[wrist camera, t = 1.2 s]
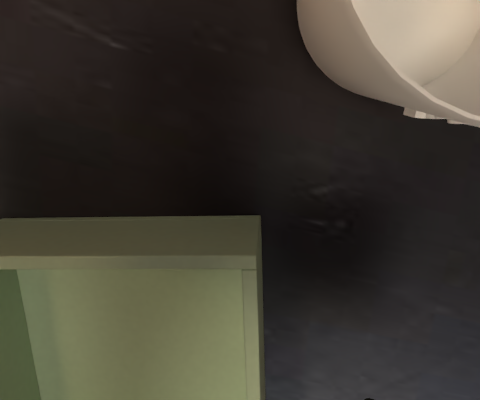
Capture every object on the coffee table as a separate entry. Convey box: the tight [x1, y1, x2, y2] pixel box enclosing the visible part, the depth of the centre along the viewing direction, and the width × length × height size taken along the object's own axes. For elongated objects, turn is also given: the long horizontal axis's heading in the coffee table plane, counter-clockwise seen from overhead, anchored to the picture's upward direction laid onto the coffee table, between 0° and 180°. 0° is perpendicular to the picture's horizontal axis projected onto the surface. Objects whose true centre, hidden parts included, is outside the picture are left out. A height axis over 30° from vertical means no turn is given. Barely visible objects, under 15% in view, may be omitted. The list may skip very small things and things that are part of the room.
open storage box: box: [0, 215, 265, 400], centre depth 22 cm, size 13×13×5 cm
